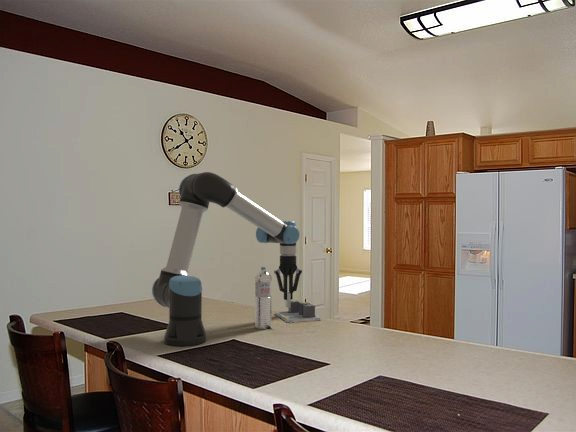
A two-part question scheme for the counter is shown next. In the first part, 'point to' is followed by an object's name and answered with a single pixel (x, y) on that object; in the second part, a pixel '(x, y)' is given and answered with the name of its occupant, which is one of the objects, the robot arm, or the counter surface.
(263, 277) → the water bottle
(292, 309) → the tab far
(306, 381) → the counter surface
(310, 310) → the dark grey rectangular block
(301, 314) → the tab mid
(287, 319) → the switch bank
